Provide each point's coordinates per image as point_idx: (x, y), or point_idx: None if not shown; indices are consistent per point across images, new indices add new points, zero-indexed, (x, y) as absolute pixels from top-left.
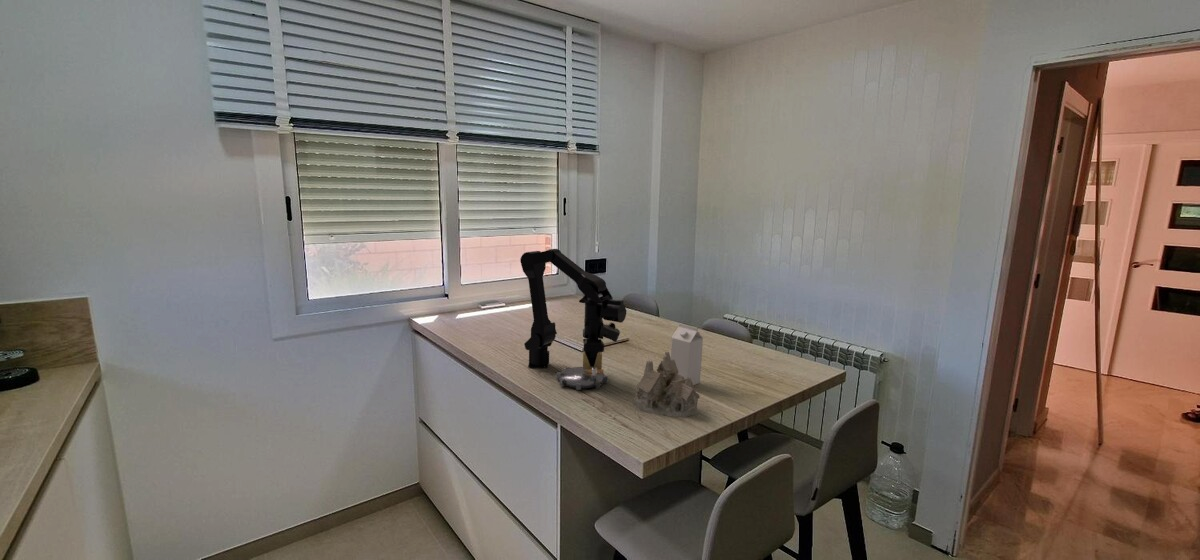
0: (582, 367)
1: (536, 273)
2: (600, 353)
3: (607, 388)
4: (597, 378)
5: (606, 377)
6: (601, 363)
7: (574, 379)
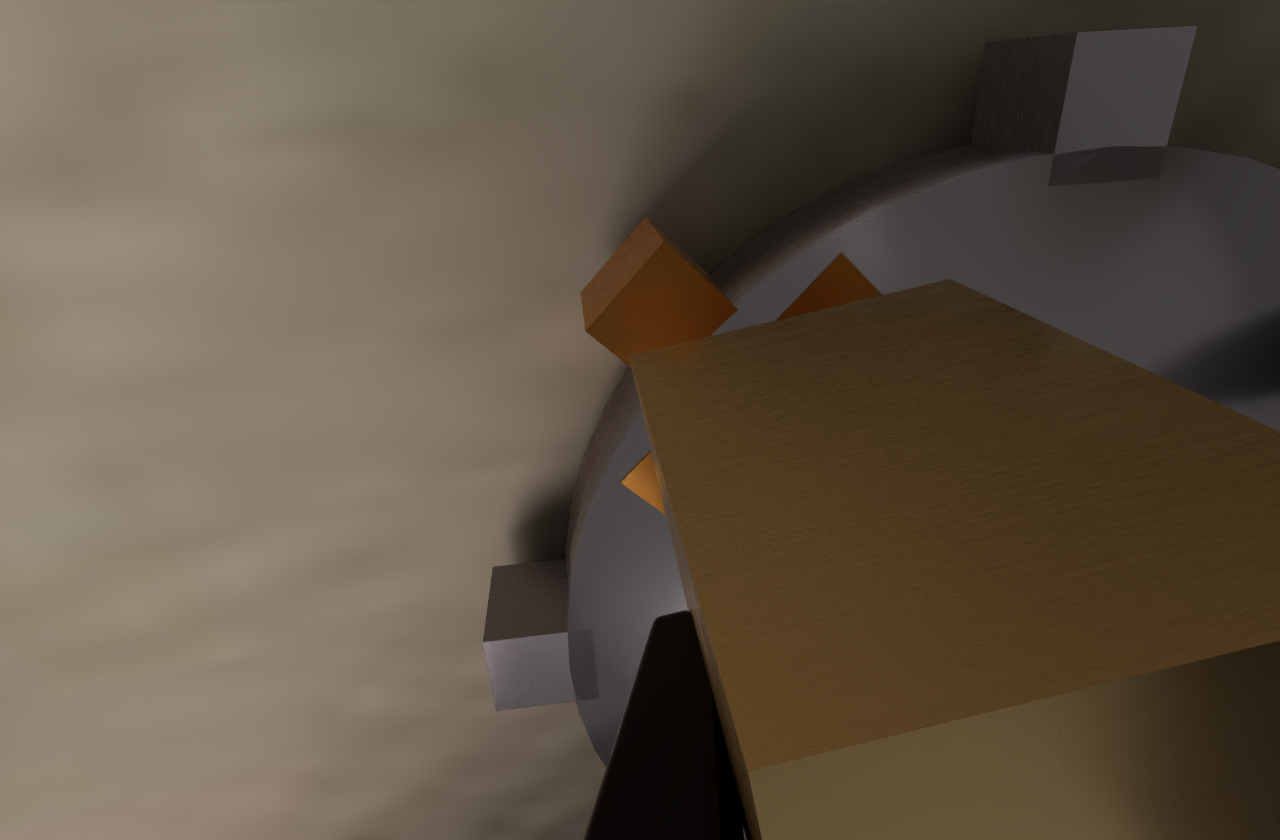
0: (614, 701)
1: None
2: (1273, 714)
3: (1274, 6)
4: (1258, 285)
5: (1170, 67)
6: (1088, 353)
7: None
